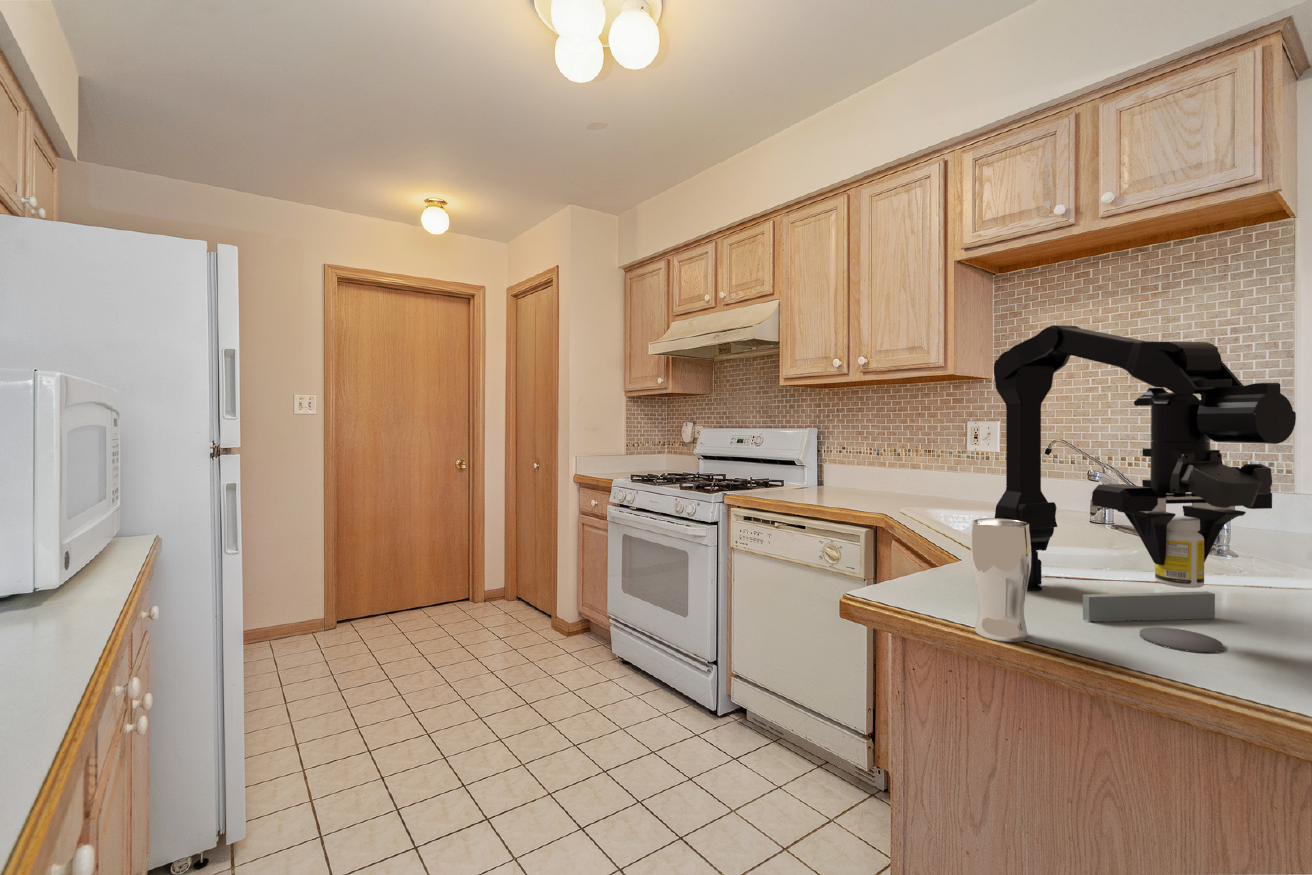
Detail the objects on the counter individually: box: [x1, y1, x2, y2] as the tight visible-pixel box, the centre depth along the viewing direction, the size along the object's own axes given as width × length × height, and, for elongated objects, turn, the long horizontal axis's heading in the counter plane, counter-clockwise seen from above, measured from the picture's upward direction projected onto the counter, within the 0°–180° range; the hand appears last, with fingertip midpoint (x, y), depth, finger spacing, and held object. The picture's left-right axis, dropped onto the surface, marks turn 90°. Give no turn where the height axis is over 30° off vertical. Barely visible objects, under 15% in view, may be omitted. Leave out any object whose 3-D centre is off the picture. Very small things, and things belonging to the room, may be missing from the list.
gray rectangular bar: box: [1082, 591, 1216, 622], centre depth 86 cm, size 18×1×4 cm, turn 91°
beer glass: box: [970, 517, 1031, 643], centre depth 81 cm, size 7×7×15 cm
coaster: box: [1139, 626, 1224, 653], centre depth 78 cm, size 8×8×1 cm
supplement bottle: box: [1154, 515, 1205, 589], centre depth 77 cm, size 5×5×8 cm
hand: (1178, 563), depth 77 cm, fingers closed on supplement bottle, 5 cm apart
